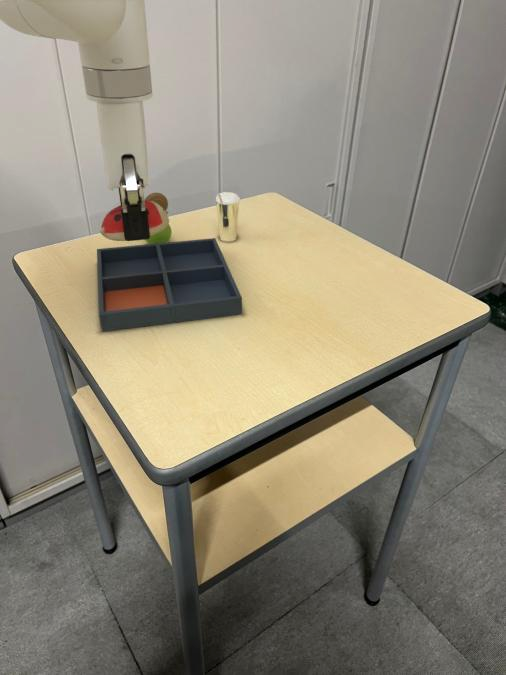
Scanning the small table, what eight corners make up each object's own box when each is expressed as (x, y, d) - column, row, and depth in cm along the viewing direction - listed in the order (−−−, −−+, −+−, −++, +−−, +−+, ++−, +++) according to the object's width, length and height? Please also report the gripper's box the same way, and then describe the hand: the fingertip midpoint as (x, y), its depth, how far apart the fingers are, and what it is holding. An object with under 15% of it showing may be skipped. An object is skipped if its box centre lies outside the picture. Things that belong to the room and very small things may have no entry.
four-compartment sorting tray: (102, 332, 77) (98, 314, 75) (99, 264, 93) (96, 248, 91) (241, 314, 81) (241, 297, 79) (215, 252, 98) (215, 237, 96)
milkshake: (210, 241, 101) (208, 192, 95) (224, 231, 105) (223, 183, 99) (230, 246, 100) (229, 196, 94) (243, 236, 104) (244, 187, 98)
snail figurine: (135, 242, 100) (128, 182, 93) (167, 237, 103) (162, 177, 95) (143, 254, 96) (135, 192, 89) (176, 248, 99) (171, 187, 92)
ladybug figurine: (180, 229, 71) (178, 205, 69) (116, 251, 66) (113, 225, 63) (152, 215, 75) (150, 191, 73) (90, 234, 69) (86, 208, 67)
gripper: (85, 70, 65) (105, 204, 76) (83, 100, 52) (108, 258, 62) (145, 68, 67) (157, 200, 77) (158, 98, 53) (171, 253, 64)
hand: (135, 225), depth 70 cm, fingers closed on ladybug figurine, 7 cm apart
